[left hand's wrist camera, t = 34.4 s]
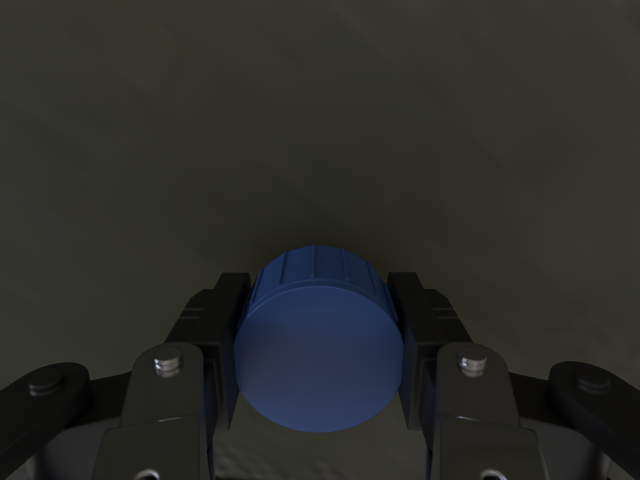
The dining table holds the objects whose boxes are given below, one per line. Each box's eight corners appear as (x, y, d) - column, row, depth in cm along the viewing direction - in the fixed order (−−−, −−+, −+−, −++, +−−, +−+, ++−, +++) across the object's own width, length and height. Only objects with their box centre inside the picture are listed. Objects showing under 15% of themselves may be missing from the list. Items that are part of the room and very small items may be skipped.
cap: (418, 321, 12) (441, 377, 10) (307, 391, 13) (304, 459, 11) (332, 214, 11) (335, 249, 9) (217, 299, 12) (192, 351, 10)
